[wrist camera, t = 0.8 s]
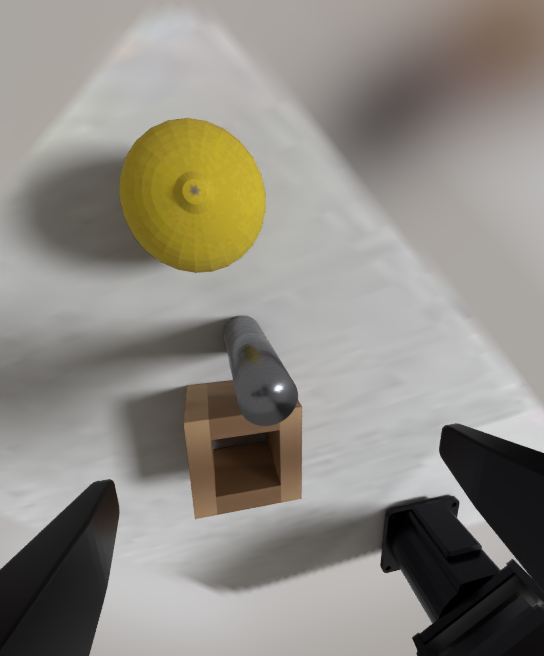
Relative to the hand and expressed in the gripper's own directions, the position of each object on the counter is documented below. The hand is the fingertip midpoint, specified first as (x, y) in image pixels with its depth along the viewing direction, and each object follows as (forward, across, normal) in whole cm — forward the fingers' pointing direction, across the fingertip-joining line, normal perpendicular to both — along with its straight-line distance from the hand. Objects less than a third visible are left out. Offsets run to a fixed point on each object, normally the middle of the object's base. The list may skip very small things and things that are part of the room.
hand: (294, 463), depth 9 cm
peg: (+11, 0, 0) cm, 11 cm away
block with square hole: (+11, +1, +6) cm, 13 cm away
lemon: (+12, +2, -7) cm, 14 cm away
